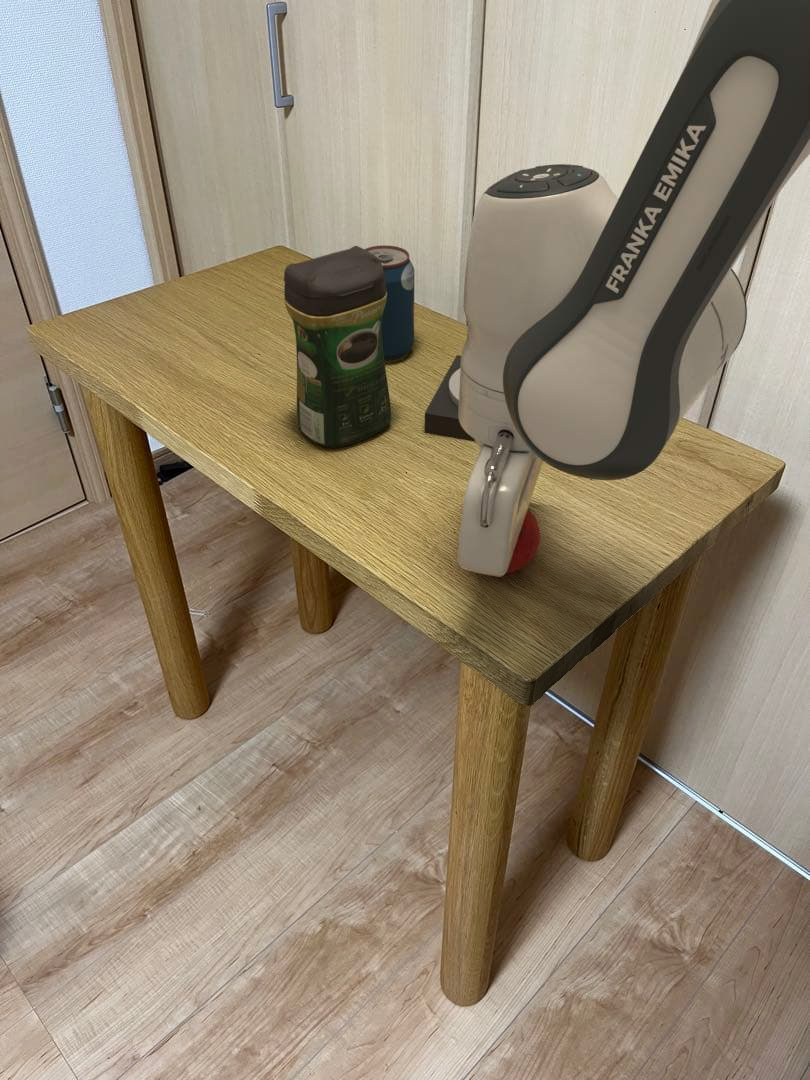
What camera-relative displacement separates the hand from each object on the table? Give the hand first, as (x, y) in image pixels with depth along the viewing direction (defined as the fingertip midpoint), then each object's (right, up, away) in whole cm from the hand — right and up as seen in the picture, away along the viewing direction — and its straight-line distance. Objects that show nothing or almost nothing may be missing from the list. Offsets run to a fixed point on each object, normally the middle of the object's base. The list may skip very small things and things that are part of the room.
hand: (504, 541), depth 71 cm
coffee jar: (-15, +12, +19) cm, 27 cm away
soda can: (-11, +23, +32) cm, 41 cm away
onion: (0, -3, +2) cm, 3 cm away
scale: (+2, +14, +22) cm, 26 cm away
